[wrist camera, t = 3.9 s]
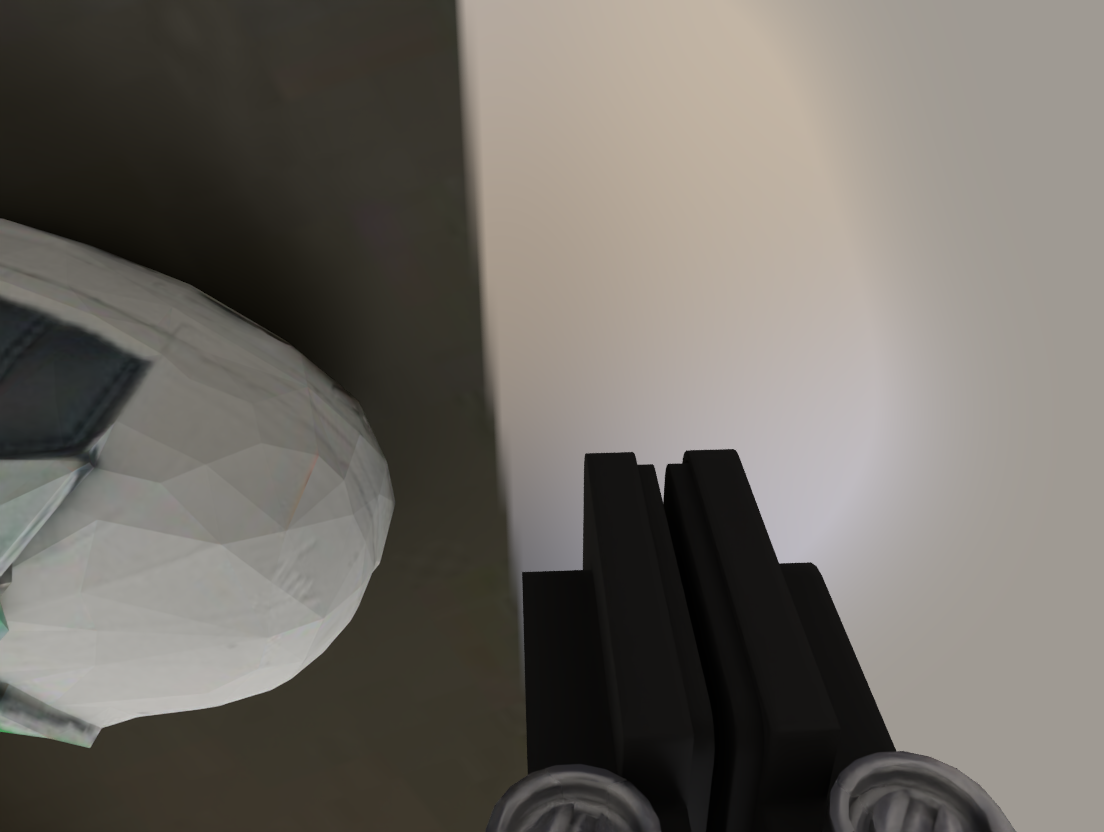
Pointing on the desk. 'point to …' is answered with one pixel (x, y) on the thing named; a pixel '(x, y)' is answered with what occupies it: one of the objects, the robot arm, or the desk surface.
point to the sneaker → (164, 496)
